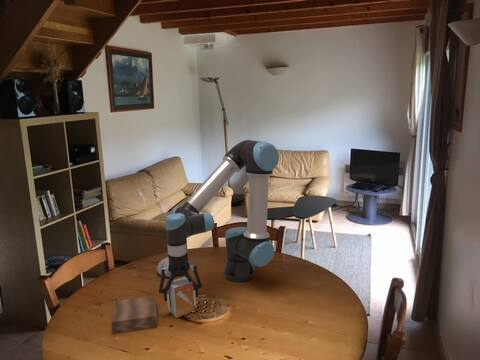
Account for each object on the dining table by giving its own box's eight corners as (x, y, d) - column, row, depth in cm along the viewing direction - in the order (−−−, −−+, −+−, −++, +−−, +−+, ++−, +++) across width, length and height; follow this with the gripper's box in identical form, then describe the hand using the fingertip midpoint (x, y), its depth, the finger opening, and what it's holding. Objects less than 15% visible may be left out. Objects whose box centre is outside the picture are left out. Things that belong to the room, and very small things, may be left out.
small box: (176, 318, 157) (174, 287, 155) (169, 311, 163) (167, 281, 160) (195, 312, 162) (193, 281, 159) (188, 305, 167) (185, 276, 164)
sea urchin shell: (162, 281, 190) (160, 265, 188) (153, 271, 202) (152, 256, 200) (188, 274, 196) (187, 259, 194) (178, 265, 208) (177, 250, 206)
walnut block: (156, 306, 168) (155, 295, 167) (156, 327, 152) (155, 315, 151) (116, 312, 165) (115, 301, 164) (112, 334, 149) (111, 322, 148)
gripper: (205, 246, 162) (208, 297, 167) (148, 253, 158) (153, 305, 163) (207, 253, 155) (210, 306, 160) (148, 260, 151) (153, 314, 156)
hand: (182, 305), depth 161 cm, fingers closed on small box, 10 cm apart
